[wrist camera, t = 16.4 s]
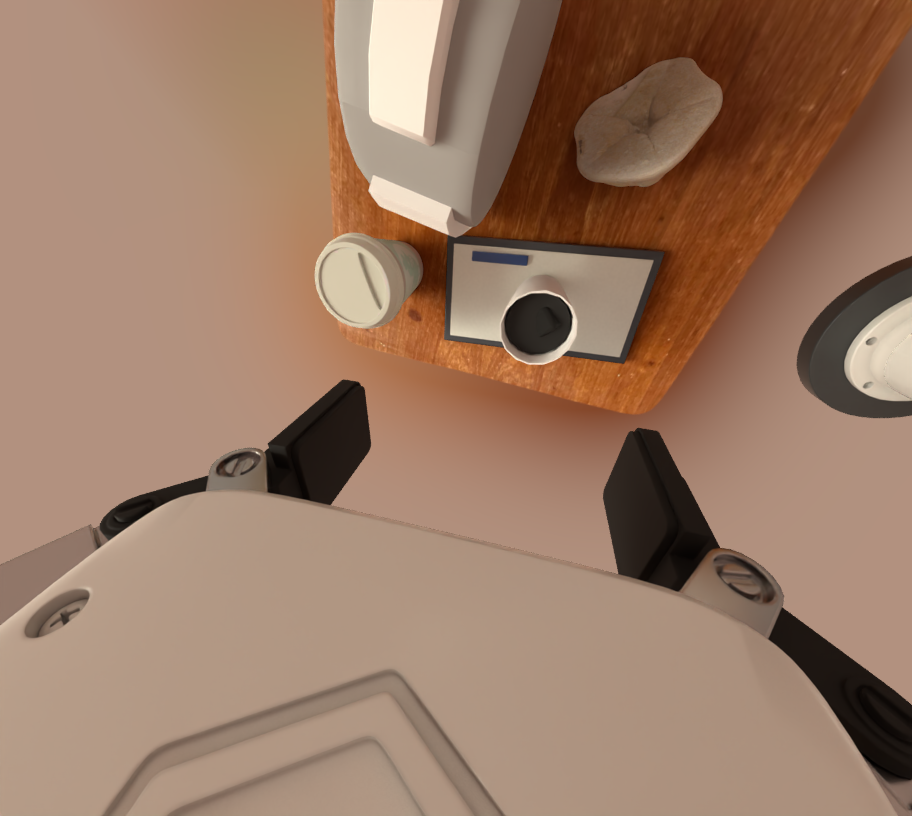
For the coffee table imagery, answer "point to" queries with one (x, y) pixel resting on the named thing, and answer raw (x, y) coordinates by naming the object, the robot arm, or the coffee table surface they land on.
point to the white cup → (538, 321)
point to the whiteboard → (573, 265)
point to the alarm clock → (439, 98)
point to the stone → (646, 124)
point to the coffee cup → (366, 278)
